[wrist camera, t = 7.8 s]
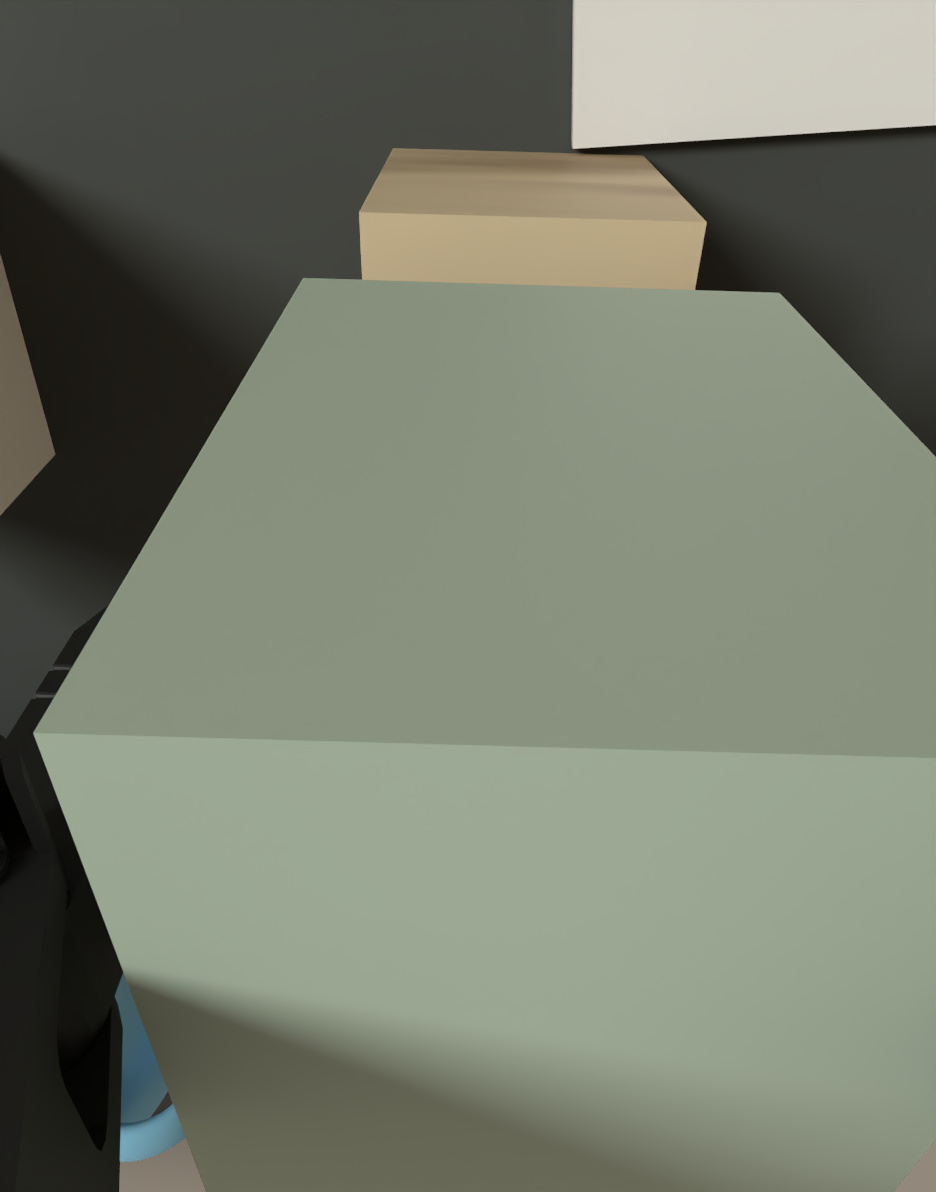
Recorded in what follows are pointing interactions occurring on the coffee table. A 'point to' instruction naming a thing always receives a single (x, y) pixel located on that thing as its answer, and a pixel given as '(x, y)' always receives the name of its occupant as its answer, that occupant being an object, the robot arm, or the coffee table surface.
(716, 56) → the page
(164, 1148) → the teapot
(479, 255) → the maple base block
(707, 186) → the coffee table surface
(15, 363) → the cream block
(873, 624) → the sage block
